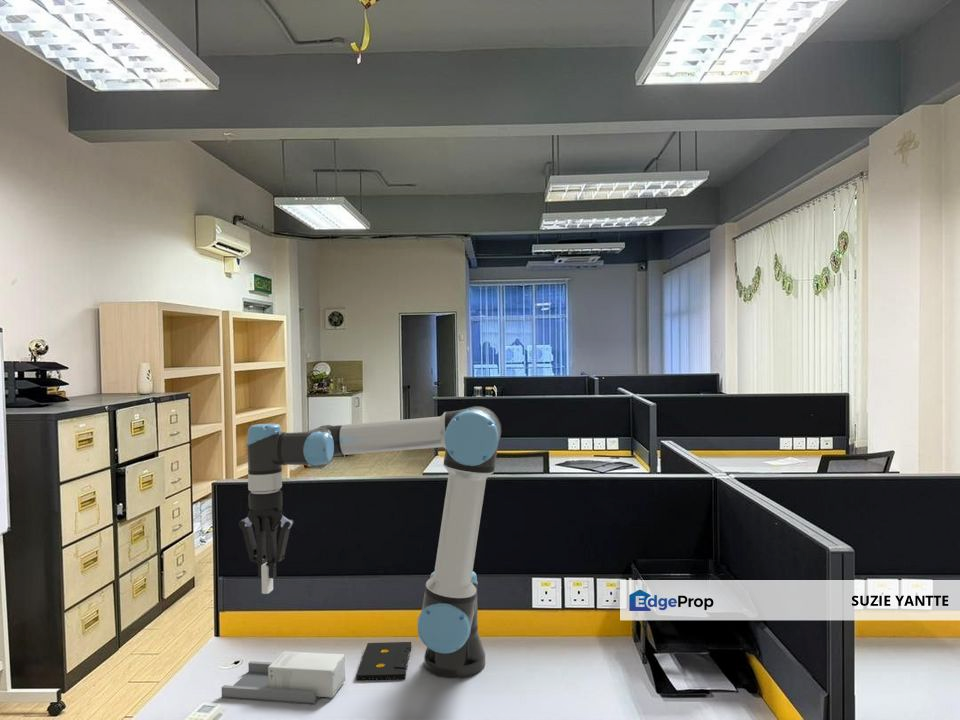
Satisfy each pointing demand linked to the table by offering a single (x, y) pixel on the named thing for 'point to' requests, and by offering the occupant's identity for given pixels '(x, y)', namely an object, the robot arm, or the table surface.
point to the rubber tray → (264, 688)
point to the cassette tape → (384, 661)
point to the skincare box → (308, 672)
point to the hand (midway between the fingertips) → (267, 591)
